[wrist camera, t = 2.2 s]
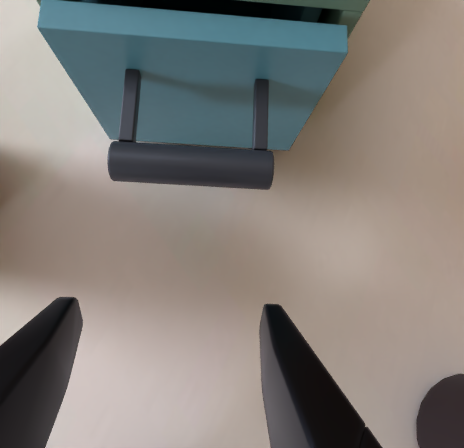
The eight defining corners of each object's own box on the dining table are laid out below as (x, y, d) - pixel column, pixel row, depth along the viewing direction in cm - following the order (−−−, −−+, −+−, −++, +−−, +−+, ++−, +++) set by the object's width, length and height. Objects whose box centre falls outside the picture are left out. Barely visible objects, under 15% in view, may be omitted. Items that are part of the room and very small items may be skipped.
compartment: (288, 223, 22) (351, 175, 13) (102, 214, 21) (17, 154, 12) (290, -28, 25) (342, -220, 16) (129, -44, 25) (79, -255, 15)
